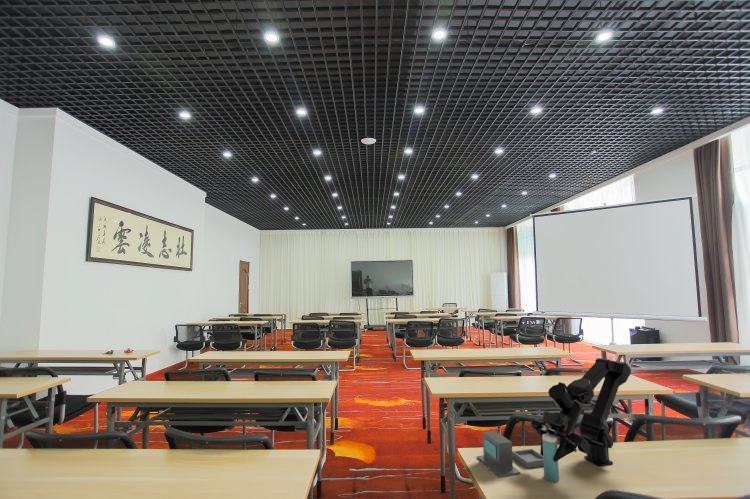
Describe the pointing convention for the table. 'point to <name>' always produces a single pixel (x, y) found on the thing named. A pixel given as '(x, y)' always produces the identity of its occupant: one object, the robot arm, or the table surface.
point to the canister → (550, 458)
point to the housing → (498, 454)
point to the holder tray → (528, 458)
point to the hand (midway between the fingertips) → (547, 457)
